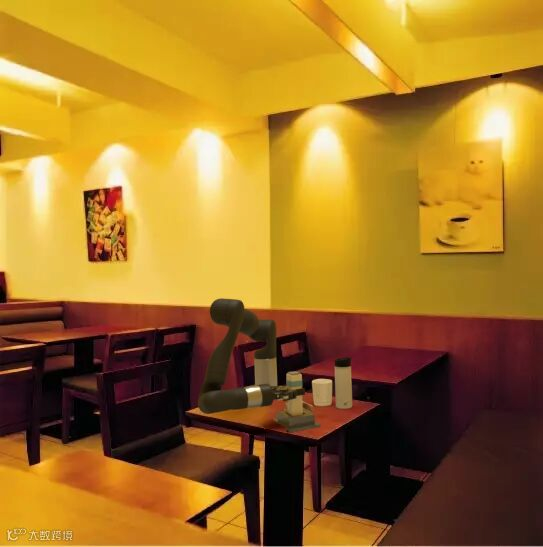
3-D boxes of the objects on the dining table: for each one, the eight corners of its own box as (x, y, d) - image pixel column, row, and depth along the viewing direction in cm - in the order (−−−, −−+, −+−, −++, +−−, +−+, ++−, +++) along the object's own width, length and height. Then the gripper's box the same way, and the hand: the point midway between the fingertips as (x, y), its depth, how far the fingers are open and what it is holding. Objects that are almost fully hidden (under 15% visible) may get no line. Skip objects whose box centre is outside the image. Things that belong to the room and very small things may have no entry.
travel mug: (349, 412, 208) (347, 359, 208) (333, 410, 212) (331, 358, 211) (355, 408, 214) (354, 356, 213) (339, 406, 217) (338, 355, 217)
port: (271, 422, 199) (271, 411, 199) (301, 417, 204) (301, 406, 204) (289, 432, 186) (288, 420, 186) (320, 427, 191) (320, 415, 191)
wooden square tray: (283, 411, 213) (283, 403, 212) (304, 408, 216) (303, 400, 216) (293, 417, 204) (293, 409, 204) (315, 413, 208) (314, 405, 208)
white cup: (332, 403, 222) (332, 378, 221) (333, 409, 214) (332, 383, 213) (313, 403, 222) (312, 379, 222) (312, 409, 214) (311, 383, 214)
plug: (287, 413, 196) (285, 372, 196) (297, 411, 198) (296, 370, 197) (292, 416, 192) (291, 374, 192) (303, 414, 194) (302, 372, 194)
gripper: (264, 389, 182) (310, 383, 189) (248, 381, 195) (292, 376, 202) (265, 412, 183) (311, 405, 190) (249, 402, 195) (293, 396, 203)
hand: (301, 390), depth 196 cm, fingers closed on plug, 4 cm apart
